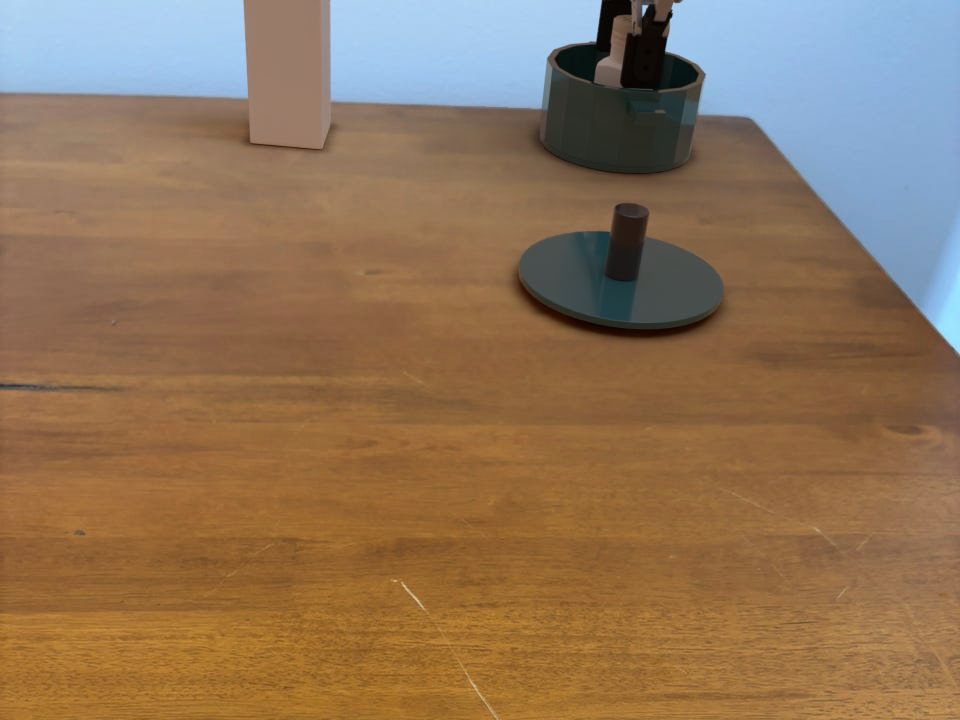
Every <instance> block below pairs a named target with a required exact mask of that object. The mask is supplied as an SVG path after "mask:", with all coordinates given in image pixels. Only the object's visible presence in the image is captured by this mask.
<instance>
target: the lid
mask: <svg viewBox="0 0 960 720" xmlns="http://www.w3.org/2000/svg"><path fill="white" fill-rule="evenodd" d="M611 218H612V219H611V223H610V224H611V225H610V231H609V230H608V231H606V230H605V231H604V230H584V231H574V232H566V233H561V234H556V235H552V236H549V237H546V238H543V239H541V240H539V241H537V242H534V243H533V244H532V245H530V246H529V247H527V248H526V249H525V250H524V251H523V253H522V254H521V256H520V259H519V260H518V271H517V273H518V279H519V281H520V282H521V284H522V286H523V287H524V289H525V290H526V291H527V292H528V293H529V294H530V295H531V296H532V297H533V298H534V299H536V300H537V301H539V302H540V303H541V304H543V305H545V306H546V307H548V308H550V309H551V310H554V311H556V312H558V313H560V314H563V315H565V316H568V317H570V318H574V319H577V320H579V321H580V320H581V321H584V322H587V323H590V324H596V325H601V326H606V327H611V328H618V329H619V328H620V329H629V330H661V329H662V330H663V329H671V328H672V329H673V328H678V327H683V326H686V325H689V324H694V323H696V322H699V321H701V320H704V319H705V318H707V317H709V316H710V315H711V314H713V313H714V312H715V311H716V310H717V309H718V308H719V307H720V305H721V303H722V300H723V296H724V289H725V287H724V283H723V280H722V277H721V275H720V273H718V271H717V270H716V269H715V268H714V267H713V266H712V265H711V264H710V263H709V262H708V261H706V260H704V259H703V258H702V257H700V256H698V255H696V254H694V253H693V252H691V251H689V250H687V249H685V248H684V247H680V246H678V245H675V244H673V243H670V242H667V241H663V240H662V239H661V240H660V239H657V238H653V237H650V236H649V237H648V236H647V231H648V224H649V219H650V210H649V209H648V208H647V207H645V206H644V205H642V204H638V203H633V202H622V203H618V204H615V206H614V207H613V212H612V217H611Z"/></svg>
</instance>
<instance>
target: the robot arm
mask: <svg viewBox="0 0 960 720" xmlns="http://www.w3.org/2000/svg"><path fill="white" fill-rule="evenodd" d="M682 2H684V0H601V3H600V9H599V10H600V11H599V16H598V17H599V18H598V25H597V33H596V39H595V42H596V48H597V50H598V51H599V52H611V45H612V44H611V36H612V29H613V22H614V18H615V17H617V16H620V15H632V33H627V38H626V44H625V51H624V57H623V64H622V71H621V77H620V84H621V86H622V87H623V88H629V89H653V90H654V89H657V88H658V87H659V85H660V79H661V73H662V68H663V62H664V56H665V51H666V49H667V43H668V38H669V36H670V30H671V29H670V28H671V19H673V16H674V13H673V9H672V8H673V5H674V4H681V3H682ZM643 6H647V8H645V11H644V13H643Z"/></svg>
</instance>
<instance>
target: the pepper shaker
mask: <svg viewBox="0 0 960 720" xmlns="http://www.w3.org/2000/svg"><path fill="white" fill-rule="evenodd" d="M627 33H632V15H620V16H617V17H615V18H614V22H613V29H612V36H611V44H612V45H611V52H610V56H609V57H606V58H604V59H602V60H601V61H599V62H598V64H597V66H596V72H595V79H594V83H597V84H601V85H607V86H613V87H619V88H623V87H622V86H621V84H620V77H621V71H622V64H623V57H624V51H625V44H626V38H627ZM625 89H629V88H625ZM640 90H653V89H640Z"/></svg>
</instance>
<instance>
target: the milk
mask: <svg viewBox="0 0 960 720" xmlns="http://www.w3.org/2000/svg"><path fill="white" fill-rule="evenodd" d="M242 3H243V21H244V41H245V60H246V61H245V63H246V82H247V101H248V102H247V103H248V105H247V106H248V122H249V123H248V124H249V125H248V126H249V142H250V144H257V145H268V146H269V145H270V146H280V147H289V148H290V147H291V148H301V149H302V148H303V149H310V150H311V149H313V150H323V147H324V145H325V142H326V139H327V136H328V134H329V131H330V128H331V124H332V101H331V99H332V97H331V96H332V94H331V93H332V91H331V90H332V88H331V87H332V85H331V84H332V83H331V81H332V80H331V79H332V77H331V76H332V75H331V74H332V73H331V72H332V71H331V70H332V69H331V63H332V62H331V60H332V59H331V57H332V56H331V54H332V53H331V0H243V2H242Z"/></svg>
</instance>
